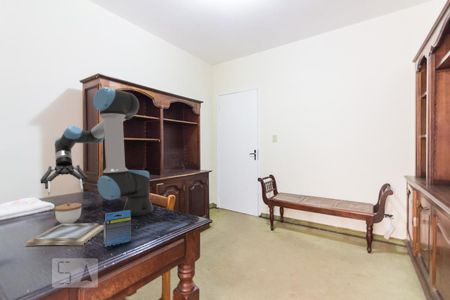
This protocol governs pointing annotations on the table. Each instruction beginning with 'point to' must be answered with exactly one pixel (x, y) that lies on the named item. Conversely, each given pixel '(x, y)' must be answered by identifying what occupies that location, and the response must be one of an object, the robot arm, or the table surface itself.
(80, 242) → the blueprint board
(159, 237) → the table surface
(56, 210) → the lidded jar
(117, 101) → the robot arm
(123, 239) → the label tape box
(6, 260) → the table surface
